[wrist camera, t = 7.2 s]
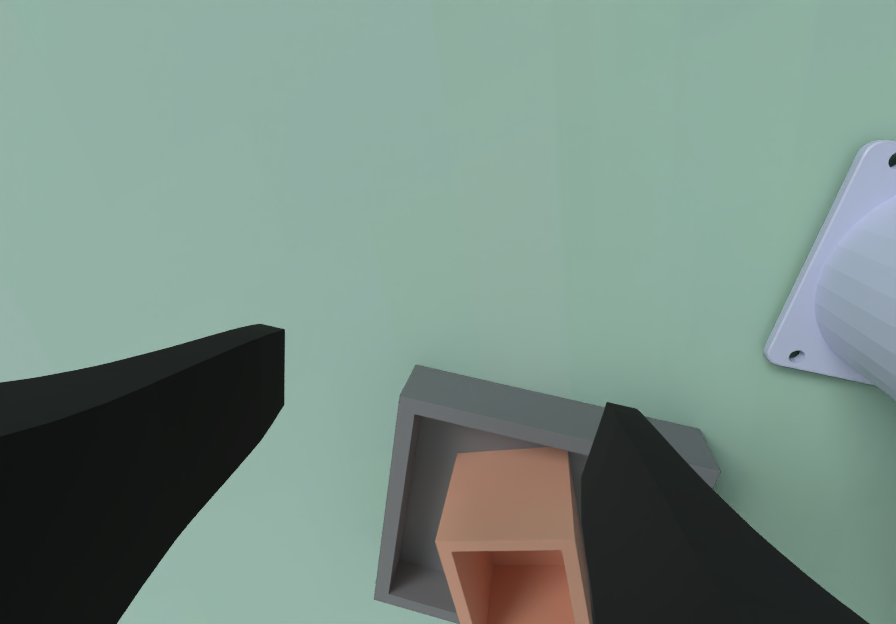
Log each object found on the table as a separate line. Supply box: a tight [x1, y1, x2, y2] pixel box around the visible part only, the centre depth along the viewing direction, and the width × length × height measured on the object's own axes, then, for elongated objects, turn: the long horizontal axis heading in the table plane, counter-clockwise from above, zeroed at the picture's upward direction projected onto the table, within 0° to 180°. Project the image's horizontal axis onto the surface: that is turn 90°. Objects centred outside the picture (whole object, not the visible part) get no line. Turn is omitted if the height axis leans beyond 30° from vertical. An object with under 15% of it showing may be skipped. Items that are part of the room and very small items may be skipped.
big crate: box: [374, 365, 721, 624], centre depth 22 cm, size 12×12×3 cm
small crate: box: [435, 447, 593, 624], centre depth 20 cm, size 5×7×5 cm
